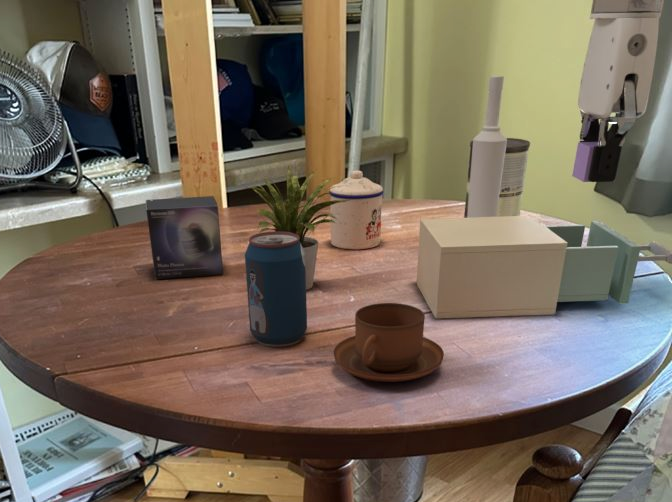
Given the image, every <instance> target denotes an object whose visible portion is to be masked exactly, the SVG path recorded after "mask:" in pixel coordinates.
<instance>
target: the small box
mask: <svg viewBox="0 0 672 502" xmlns="http://www.w3.org/2000/svg"><path fill="white" fill-rule="evenodd" d="M218 207H219V206H218V202H217V200H216V198H215V196H213V195H210V196H207V195H206V196H190V197H173V198H156V199H155V198H154V199H146V200H145V212H146V218H147V226H148V234H149V241H150V249H151V257H152V263H153V272H154V278H155V280H162V279H177V278H188V277H189V278H190V277H202V276H203V277H205V276H221V275H224V267H223V253H222V243H221V228H220V217H219V208H218Z"/></svg>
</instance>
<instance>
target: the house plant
mask: <svg viewBox="0 0 672 502" xmlns="http://www.w3.org/2000/svg"><path fill="white" fill-rule="evenodd" d="M291 171H292V170H291V167H290V165H288V166H287V171H286V199H285V200H284V198H283V195H282V193H281V191H280V188H279V187H278V186H277V185H276V183H274V182H273V181H272V180H270V179H267V178H263V181H264V183H265V185H266V186H267V188H268V190H269V192H270V194H271V195H270V194H269V193H268V192H267V190H265V188H264V187H263V186H262V185H260V184H258V183H256V182H255V184H256V185H257V186H258V187H256V186H247V187H246V189H251V190H253V191H254V192H255V193H256V194H258V195H259V196H260V198H261V199H262V200H263V202H265V203H266V204H267V206H268V207H269V208H270V210H271V211H270V210H268V209H266V208H264V209H263V208H261V209H258V210H256V211H255V213H257V214H259V215H262V216H264V217H266V218H267V219H269V220H270V221H271V222H272V223H271V222H269V221H265V220H261V221H260V222H259V224H258V227H257V230H259V229H260V228H261V229H260V231H259V233H264V232H266V231H269V230H272V231H274V232H290V233H294V234H297V235H298V236H299V238H300V240H299V241H300V243H301V245H302V247H303V249H304V251H305V268H306V291H307V290H309V289H312V288H313V285H314V278H315V271H316V264H317V256H318V250H319V244H320V243H319V240H318V239H316V238H314V232H315V229H316V226H318V225H321V224H325V223H331V222H333V223H335V222H334V221H333V220H331V217H333V218H335V217H334V216H332V215H334V214H337V213H334V214H331V213H330V214H329V213H322V214H319V215H316V216H315V214H317V213H318V212H319V211H321V210H323V209H325V208H327V207H331V205H333V204H336V203H340V202H346V201H351V200H334V201H331V200H327V201H322V202H319V203H316V202H317V200H318V199H320V198H321V197H322V196H325V195H330V194H332V193H329V192H324V191H327V190H330V188H334V187H340V186H334V187H332V186H331V187H327V188H325V189H323V188H324V186H326V184H328V183H329V182H331V180H333V179H334V178H335V177H331V178H328V179H325V180H324V181H323V182H321V183H320V184H319V185H317V187H316V188H315V189H314V191H313V192H312V193H311V194H310V196H309V197H308V198H307V199H306V201H305V202H304V205H301V202H302V199H303V197H304V194H305V191H306V189H307V187H308V185H309V183H310V180H311V179H312V178H313V176H314V175H315V173H316V171H317V168H315V169H313V171H312V172H311V173H310V174H309V175H308V176H307V178H306V179H305V180H304V182H303V183H302V184H301V185H300V182H299V175H298V172H295V173H294V174H293V175H291V174H292V173H291ZM267 181H268V182H267ZM269 182H270V183H269ZM271 183H272V184H273V185H274V186H275V187H274V186H273V185H272V184H271ZM275 188H276V189H275ZM322 192H323V193H322ZM321 193H322V194H321ZM319 194H320V195H319ZM318 195H319V196H318ZM317 196H318V197H317ZM313 201H314V202H313ZM315 203H316V204H315ZM300 205H301V206H300ZM301 208H302V210H301V211H300V213H299V210H300V209H301ZM314 216H315V217H314ZM327 217H330V218H327ZM319 218H323V219H320V220H317V219H319ZM335 219H337V218H335ZM316 220H317V221H316ZM337 220H338V219H337ZM336 224H337V223H336ZM268 226H273V227H274V228H270V227H268ZM309 231H310V232H309ZM307 232H309V233H308V234H307ZM259 233H258V234H259ZM311 233H312V236H313V237H309V235H311ZM306 234H307V235H306Z"/></svg>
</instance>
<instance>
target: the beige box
mask: <svg viewBox="0 0 672 502" xmlns="http://www.w3.org/2000/svg"><path fill="white" fill-rule="evenodd" d="M545 226H546V225H544V224H543V223H541V222H540V221H539V220H537V219H536V218H535V217H534V216H532V215H520V216H505V217H473V218H464V217H447V218H446V217H444V218H420V220H419V235H418V238H419V239H418V252H417V266H416V268H417V269H416V281H415V282H416V286H417V287H418V289H419V291H420V293H421V294H422V296H423V298H424V301H425V302H426V304H427V306H428V308H429V309H430V312H431V313H432V314H433V317H434V318H435V319H436V320H437V319H465V318H493V317H495V318H496V317H518V316H521V317H522V316H523V317H524V316H545V315H548V316H549V315H551V316H552V315H556V312H557V311H556V310H557V306H558V302H557V300H558V294H559V289H560V283H561V277H562V272H563V266H564V260H565V254H566V249H567V242H566V241H564V240H563V239H562V238H560V237H559V236H558V235H556V234H555V233H554V232H552V231H551V230H550V229H548V228H547V227H545Z"/></svg>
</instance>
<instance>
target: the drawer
mask: <svg viewBox="0 0 672 502" xmlns="http://www.w3.org/2000/svg"><path fill="white" fill-rule="evenodd" d="M544 226H545V227H547V228H548V229H550V230H551V231H552V232H554V233H555V234H556V235H558V236H559V237H560V238H562V239H563V240H564V241H566V242H567V249H566V254H565V260H564V266H563V272H562V277H561V283H560V289H559V294H558V300H557V303H565V302H591V301H593V302H594V301H608V298H609V297H610V298H611V299H612V300H614V301H615V302H616V303H618V304H619V305H621V304H623V305H625V304H628V303H629V300H630V297H631V291H632V288H633V284H634V279H635V276H636V275H635V274H636V270H637V266H638V262H663V261H664V262H666V263H668V264H670V265H672V249H670V248H668V247H666V246H664V245H662V244H661V243H659V242H657V241H651V242H649V243H648V244H638V243H637V242H634V241H633V240H631V239H630V238H628V237H627V236H625V235H623V234H621V233H620V232H618V231H616V230H614V229H613V228H611V227H609V226H608V225H607V224H604V223H603V222H601V221H599V220H597V221H594V220H592V221H590V225H589V226H590V227H589V231H588V236H587V241H586V246H583V239H584V236H585V230H586V225H585V224H584V223H583V224H554V225H551V224H550V225H544ZM641 251H648V252H649V253H651V254H652V255H651V254H650V255H640V253H641Z"/></svg>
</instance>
